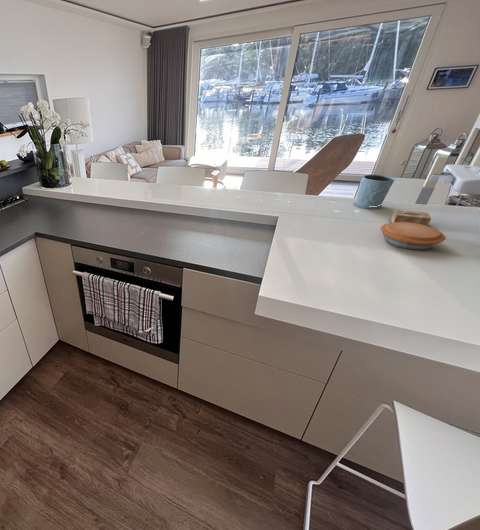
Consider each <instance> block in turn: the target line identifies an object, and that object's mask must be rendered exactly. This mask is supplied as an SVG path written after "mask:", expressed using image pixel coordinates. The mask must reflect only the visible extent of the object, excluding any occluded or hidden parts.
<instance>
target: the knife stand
mask: <svg viewBox="0 0 480 530" xmlns="http://www.w3.org/2000/svg"><path fill="white" fill-rule="evenodd" d="M431 220H432V217H431V215H430V213H429V212H424V211H423V212H422V211H414V210H413V211H412V210H401V209H395V210H394V211H393V214H392V216H391V219H390V221H391V223H394V222H409V223H416V224H422V225H425V226H429V225H430V222H431Z"/></svg>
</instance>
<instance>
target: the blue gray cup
mask: <svg viewBox="0 0 480 530" xmlns="http://www.w3.org/2000/svg"><path fill="white" fill-rule="evenodd" d="M395 180H396V179H395V177H393V176H390V175H384V174H365V175H362V178H361V182H360V186H359V190H358V193H357V196H356V197H357V198H356V200H355V206H356V207H358V208H361V209H369V210H376V209H380V208H381V206H382V205H381V206H378V205H380V204H381V203H382V202H384V201H385V199H386V197H387V195H388V194H389V192H390V190H391V187H392V186H393V184H394V183H395ZM382 204H383V203H382ZM369 206H377V207H369Z"/></svg>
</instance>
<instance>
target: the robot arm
mask: <svg viewBox="0 0 480 530" xmlns="http://www.w3.org/2000/svg"><path fill="white" fill-rule="evenodd" d="M430 180H431V181H437V183H442V184H448V185H449V186H450V187H451V189H453V191H454V192H456V193H461V194H468V195H478V196H480V167H479V166H477V165H469V164H445V166H444V168H443V170H442V172H441V174H440V175H435V174H433V175H431V177H430Z"/></svg>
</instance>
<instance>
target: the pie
mask: <svg viewBox="0 0 480 530" xmlns="http://www.w3.org/2000/svg"><path fill="white" fill-rule="evenodd" d="M379 229H380V231H381V233H382V235H383V238H384V240H385V241H386V242H387V243H389V244H390V245H392V246H396V247H399V248H403V249H406V250H407V249H408V250H427V249H430V248H432V247H434V246H435V245H438V244H440V243H443V242H444V241H445V240H446V238H447V237H446V235H445V234H444V233H443V232H441V231H440V230H437V229H436V228H434V227H431V226H429V225H428V226H425V225H422V224H416V223H409V222H394V223H392V222H390V223H385V224H383V225H381V226H380V228H379Z"/></svg>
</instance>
